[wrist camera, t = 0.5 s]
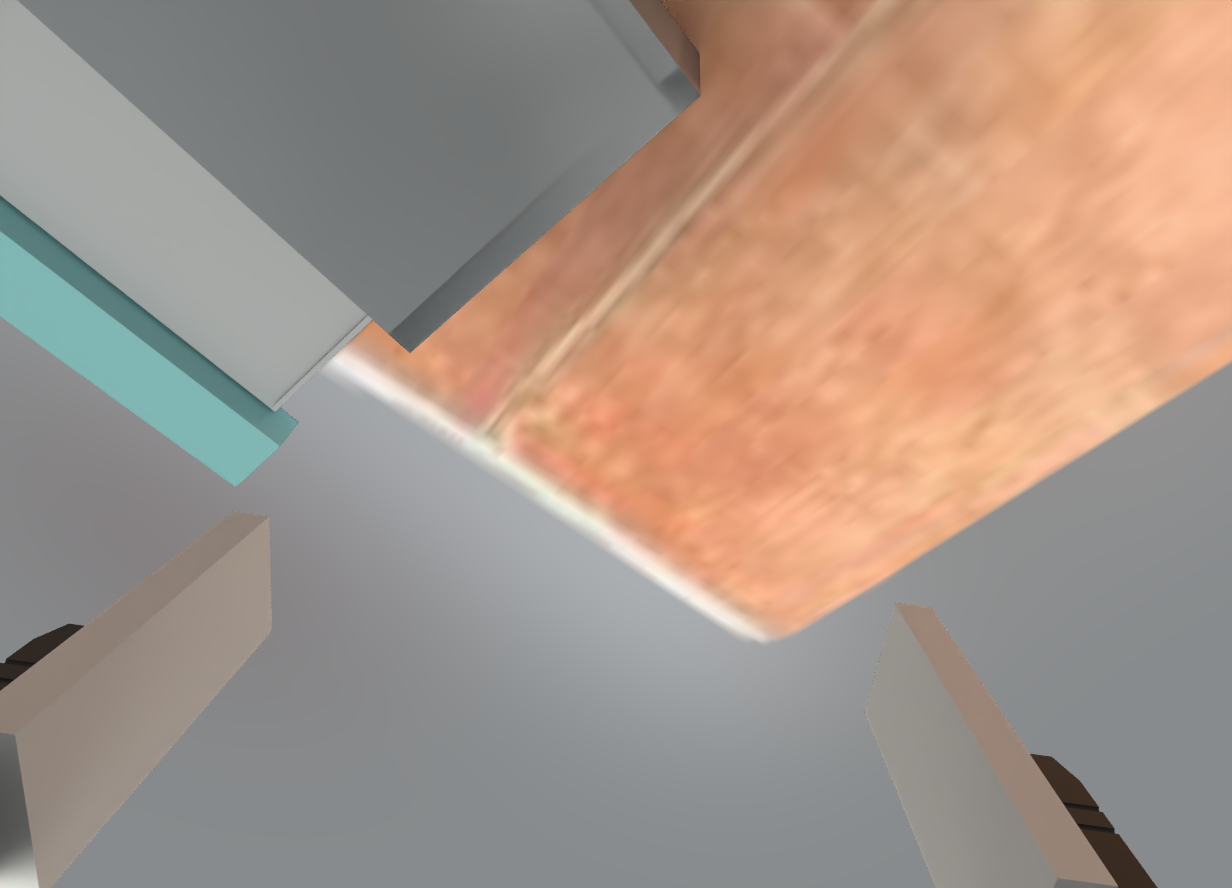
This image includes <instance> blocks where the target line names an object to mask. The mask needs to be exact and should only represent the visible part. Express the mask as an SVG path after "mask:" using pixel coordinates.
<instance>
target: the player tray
mask: <svg viewBox="0 0 1232 888" xmlns="http://www.w3.org/2000/svg"><path fill="white" fill-rule="evenodd" d="M0 316H1V317H2V318H3V319H5V320H6V321H8V322H9V323H10V324H12V325H13V326H14V327H16V328H17V329H19V330H20V331H21V332H23V333H24V334H26V335H27V336H28V337H30V338H31V339H33V340H34V341H35V342H37V343H38V344H39V345H41V346H42V347H43V348H45V349H46V350H48V351H49V352H50V353H52V354H53V355H55V356H56V357H57V358H59V359H60V360H61V361H63V362H64V363H66V364H67V365H68V366H70V367H71V368H73V369H74V370H75V371H77V372H78V373H79V374H81V375H82V376H84V377H85V378H86V379H88V380H89V381H90V382H92V383H93V384H94V385H96V386H97V387H99V388H100V389H101V390H103V391H104V392H106V393H107V394H108V395H110V396H111V397H112V398H114V399H115V400H117V401H118V402H119V403H121V404H122V405H124V406H125V407H126V408H128V409H129V410H131V411H132V412H133V413H135V414H136V415H137V416H139V417H140V418H141V419H143V420H144V421H146V422H147V423H148V424H150V425H151V426H152V427H154V428H155V429H157V430H158V431H159V432H161V433H162V434H164V435H165V436H166V437H168V438H169V439H171V440H172V441H173V442H175V443H176V444H177V445H179V446H180V447H182V448H183V449H184V450H186V451H187V452H189V453H190V454H191V455H192V456H194V457H195V458H197V459H198V460H200V461H201V462H202V463H204V464H205V465H206V466H208V467H209V468H210V469H212V470H213V471H215V472H216V473H217V474H219V475H220V476H222V477H223V478H224V479H226V480H227V481H228V482H230V483H231V484H233V485H234V486H237V485H238V484H239V483H240V482H241V481H242V480H244V479H245V478H246V477H247V476H248V475H249V474H250V473H251V472H252V471H253V470H254V469H256V468H257V467H258V466H259V465H260V464H261V463H262V462H263V461H264V460H266V458H268V457H269V456H270V455H271V454H272V453H273V452H274V451H275V450H277V449H278V448H279V447H280V446H281V444H282V443H283V442H284V440H285V439H286V438H287V436H288V435H289V434H290V433H291V431H292V430H293V429H294V427H295V426H296V425H297V424H298V421H297V420H296V419H294V418H293V417H292V416H290V415H289V414H288V413H287V412H285V411H284V410H283V409H282V408H280V406H282V405H283V404H284V403H285V402H286V401H287V400H288V399H289V398H290V397H291V396H292V395H293V394H294V393H296V391H298V390H299V389H300V388H301V387H302V386H303V385H304V384H305V383H306V382H307V381H308V380H309V379H310V378H311V377H312V376H313V375H314V374H316V373H317V372H318V371H319V370H320V369H321V368H322V367H323V366H324V365H325V364H326V363H327V362H328V361H329V360H330V359H331V358H332V357H333V356H334V355H336V354H337V353H338V352H339V351H340V350H341V349H342V348H343V347H344V346H345V345H346V344H347V343H348V342H349V341H350V340H351V339H352V338H353V337H354V336H355V335H357V334H358V333H359V332H360V331H361V330H362V329H363V328H364V327H365V326H366V325H367V324H368V323H369V322H370V321H371V320H372V319H371V318H370V317H369V316H368V315H367V314H366V313H365V312H364V311H363V310H361V309H360V308H359V307H358V306H357V305H356V304H355V303H354V302H352V301H351V300H350V299H349V298H348V297H347V296H346V295H345V294H344V293H342V292H341V291H340V290H339V289H338V288H337V287H336V286H335V285H334V284H332V283H331V282H330V281H329V280H328V279H327V278H326V277H325V276H324V275H322V274H321V273H320V272H319V271H318V270H317V269H316V268H315V267H314V266H312V265H311V264H310V263H309V262H308V261H307V260H306V259H305V258H304V257H302V256H301V255H300V254H299V253H298V252H297V251H296V250H295V249H294V248H292V247H291V246H290V245H289V244H288V243H287V242H286V241H285V240H284V239H282V238H281V237H280V236H279V235H278V234H277V233H276V232H275V231H273V230H272V229H271V228H270V227H269V226H268V225H267V224H266V223H265V222H263V221H262V220H261V219H260V218H259V217H258V216H257V215H256V214H255V213H253V212H252V211H251V210H250V209H249V208H248V207H247V206H246V205H245V204H243V203H242V202H241V201H240V200H239V199H238V198H237V197H236V196H235V195H233V194H232V193H231V192H230V191H229V190H228V189H227V188H226V187H225V186H223V185H222V184H221V183H220V182H219V181H218V180H217V179H216V178H215V177H213V176H212V175H211V174H210V173H209V172H208V171H207V170H206V169H205V168H203V167H202V166H201V165H200V164H199V163H198V162H197V161H196V160H194V159H193V158H192V157H191V156H190V155H189V154H188V153H187V152H186V151H184V150H183V149H182V148H181V147H180V146H179V145H178V144H177V143H176V142H174V141H173V140H172V139H171V138H170V137H169V136H168V135H167V134H166V133H164V132H163V131H162V130H161V129H160V128H159V127H158V126H157V125H156V124H154V123H153V122H152V121H151V120H150V119H149V118H148V117H147V116H146V115H144V114H143V113H142V112H141V111H140V110H139V109H138V108H137V107H136V106H134V105H133V104H132V103H131V102H130V101H129V100H128V99H127V98H126V97H124V96H123V95H122V94H121V93H120V92H119V91H118V90H117V89H115V88H114V87H113V86H112V85H111V84H110V83H109V82H108V81H107V80H105V79H104V78H103V77H102V76H101V75H100V74H99V73H98V72H97V71H95V70H94V69H93V68H92V67H91V66H90V65H89V64H88V63H87V62H85V61H84V60H83V59H82V58H81V57H80V56H79V55H78V54H77V53H75V52H74V51H73V50H72V49H71V48H70V47H69V46H68V45H67V44H65V43H64V42H63V41H62V40H61V39H60V38H59V37H58V36H57V35H55V34H54V33H53V32H52V31H51V30H50V29H49V28H48V27H47V26H45V25H44V24H43V23H42V22H41V21H40V20H39V19H38V18H36V17H35V16H34V15H33V14H32V13H31V12H30V11H29V10H28V9H26V8H25V7H24V6H23V5H22V4H21V3H20V2H19V1H18V0H0Z"/></svg>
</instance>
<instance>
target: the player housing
mask: <svg viewBox="0 0 1232 888" xmlns="http://www.w3.org/2000/svg"><path fill="white" fill-rule="evenodd" d="M18 1H19V2H20V3H21V4H22V5H23V6H24V7H25V8H26V9H28V10H29V11H30V12H31V13H32V14H33V15H34V16H35V17H36V18H38V19H39V20H40V21H41V22H42V23H43V24H44V25H45V26H47V27H48V28H49V29H50V30H51V31H52V32H53V33H54V34H55V35H57V36H58V37H59V38H60V39H61V40H62V41H63V42H64V43H65V44H67V45H68V46H69V47H70V48H71V49H72V50H73V51H74V52H75V53H77V54H78V55H79V56H80V57H81V58H82V59H83V60H84V61H85V62H87V63H88V64H89V65H90V66H91V67H92V68H93V69H94V70H95V71H97V72H98V73H99V74H100V75H101V76H102V77H103V78H104V79H105V80H107V81H108V82H109V83H110V84H111V85H112V86H113V87H114V88H115V89H117V90H118V91H119V92H120V93H121V94H122V95H123V96H124V97H126V98H127V99H128V100H129V101H130V102H131V103H132V104H133V105H134V106H136V107H137V108H138V109H139V110H140V111H141V112H142V113H143V114H144V115H146V116H147V117H148V118H149V119H150V120H151V121H152V122H153V123H154V124H156V125H157V126H158V127H159V128H160V129H161V130H162V131H163V132H164V133H166V134H167V135H168V136H169V137H170V138H171V139H172V140H173V141H174V142H176V143H177V144H178V145H179V146H180V147H181V148H182V149H183V150H184V151H186V152H187V153H188V154H189V155H190V156H191V157H192V158H193V159H194V160H196V161H197V162H198V163H199V164H200V165H201V166H202V167H203V168H205V169H206V170H207V171H208V172H209V173H210V174H211V175H212V176H213V177H215V178H216V179H217V180H218V181H219V182H220V183H221V184H222V185H223V186H225V187H226V188H227V189H228V190H229V191H230V192H231V193H232V194H233V195H235V196H236V197H237V198H238V199H239V200H240V201H241V202H242V203H243V204H245V205H246V206H247V207H248V208H249V209H250V210H251V211H252V212H253V213H255V214H256V215H257V216H258V217H259V218H260V219H261V220H262V221H263V222H265V223H266V224H267V225H268V226H269V227H270V228H271V229H272V230H273V231H275V232H276V233H277V234H278V235H279V236H280V237H281V238H282V239H284V240H285V241H286V242H287V243H288V244H289V245H290V246H291V247H292V248H294V249H295V250H296V251H297V252H298V253H299V254H300V255H301V256H302V257H304V258H305V259H306V260H307V261H308V262H309V263H310V264H311V265H312V266H314V267H315V268H316V269H317V270H318V271H319V272H320V273H321V274H322V275H324V276H325V277H326V278H327V279H328V280H329V281H330V282H331V283H332V284H334V285H335V286H336V287H337V288H338V289H339V290H340V291H341V292H342V293H344V294H345V295H346V296H347V297H348V298H349V299H350V300H351V301H352V302H354V303H355V304H356V305H357V306H358V307H359V308H360V309H361V310H363V311H364V312H365V313H366V314H367V315H368V316H369V317H370V318H371V319H373V320H374V321H375V322H376V323H377V324H378V325H379V326H380V327H381V328H383V329H384V330H385V331H386V332H387V333H388V334H389V335H390V336H391V337H393V338H394V339H395V340H396V341H397V342H398V343H399V344H400V345H401V346H403V347H404V348H405V349H406V350H407V351H408V352H409V353H411V352H412V351H413V350H414V349H415V348H416V347H417V346H418V345H420V344H421V343H422V342H423V341H424V340H425V339H426V338H428V337H429V336H430V335H431V334H432V333H433V332H434V331H435V330H437V329H438V328H439V327H440V326H441V325H442V324H443V323H444V322H446V321H447V320H448V319H449V318H450V317H451V316H452V315H453V314H455V313H456V312H457V311H458V310H459V309H460V308H461V307H462V306H464V305H465V304H466V303H467V302H468V301H469V300H470V299H471V298H473V297H474V296H475V295H476V294H477V293H478V292H479V291H481V290H482V289H483V288H484V287H485V286H486V285H487V284H488V283H490V282H491V281H492V280H493V279H494V278H495V277H496V276H497V275H499V274H500V273H501V272H502V271H503V270H504V269H505V268H506V267H508V266H509V265H510V264H511V263H512V262H513V261H514V260H515V259H517V258H518V257H519V256H520V255H521V254H522V253H523V252H525V251H526V250H527V249H528V248H529V247H530V246H531V245H532V244H534V243H535V242H536V241H537V240H538V239H539V238H540V237H541V236H543V235H544V234H545V233H546V232H547V231H548V230H549V229H550V228H552V227H553V226H554V225H555V224H556V223H557V222H558V221H559V220H561V219H562V218H563V217H564V216H565V215H566V214H567V213H568V212H570V211H571V210H572V209H573V208H574V207H575V206H576V205H578V204H579V203H580V202H581V201H582V200H583V199H584V198H585V197H587V196H588V195H589V194H590V193H591V192H592V191H593V190H594V189H596V188H597V187H598V186H599V185H600V184H601V183H602V182H603V181H605V180H606V179H607V178H608V177H609V176H610V175H611V174H612V173H614V172H615V171H616V170H617V169H618V168H619V167H620V166H621V165H623V164H624V163H625V162H626V161H627V160H628V159H629V158H631V157H632V156H633V155H634V154H635V153H636V152H637V151H638V150H640V149H641V148H642V147H643V146H644V145H645V144H646V143H647V142H649V141H650V140H651V139H652V138H653V137H654V136H655V135H656V134H658V133H659V132H660V131H661V130H662V129H663V128H664V127H665V126H667V125H668V124H669V123H670V122H671V121H672V120H673V119H675V118H676V117H677V116H678V115H679V114H680V113H681V112H682V111H684V110H685V109H686V108H687V107H688V106H689V105H690V104H691V103H693V102H694V101H695V100H696V99H697V98H698V97H699V96H700V59H699V53H698V51H697V50H696V49H695V47H694V46H693V44H692V43H691V42H690V40H689V39H688V38H687V36H686V35H685V34H684V32H683V31H682V29H681V28H680V27H679V25H678V24H677V23H676V21H675V20H674V19H673V17H672V16H671V14H670V13H669V12H668V10H667V9H666V8H665V6H664V5H663V4H662V2H661V1H660V0H18Z"/></svg>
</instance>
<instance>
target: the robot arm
mask: <svg viewBox="0 0 1232 888" xmlns="http://www.w3.org/2000/svg"><path fill="white" fill-rule="evenodd" d="M270 574H271V573H270V525H269V517H268V516H261V515H253V514H246V513H239V512H232V513H230V514H229V515H228V516H227V517H225V518H224V519H223V520H221V521H220V522H219V523H218V524H216V525H215V526H214V527H213V528H211V529H210V530H208V531H207V532H206V533H205V534H203V535H202V536H201V537H199V538H198V539H197V540H195V541H194V542H193V543H192V544H190V545H189V546H188V547H186V548H185V549H184V550H182V551H181V552H180V553H179V554H177V555H176V556H175V557H173V558H172V559H171V560H169V561H168V562H167V563H166V564H164V565H163V566H162V567H160V568H159V569H158V570H157V571H155V572H154V573H153V574H151V575H150V576H149V577H147V578H146V579H145V580H144V581H142V582H141V583H140V584H138V585H137V586H136V587H134V588H133V589H132V590H131V591H129V592H128V593H127V594H125V595H124V596H123V597H122V598H120V599H119V600H118V601H116V602H115V603H114V604H113V605H111V606H110V607H109V608H107V609H106V610H105V611H103V612H102V613H101V614H99V615H98V616H97V617H96V618H94V619H93V620H92V621H90V622H89V623H88V624H87V625H85V626H81V625H74V624H67V625H65V626H63V627H60V628H58V629H56V630H53V631H51V632H49V633H47V634H44V635H42V636H40V637H37V638H35V639H33V640H32V641H30V642H29V643H28V644H26V645H25V646H24V647H22V648H21V649H19V650H18V651H16V652H15V653H14V654H12V655H11V656H10V657H8V658H7V659H6V662H5V663H0V888H51V887H52V885H53V884H54V883H55V882H56V881H57V880H58V879H59V877H60V876H61V875H62V874H63V873H64V872H65V870H66V869H67V868H68V867H69V866H70V865H71V863H72V862H73V861H74V860H75V859H76V858H77V856H78V855H79V854H80V853H81V852H82V851H83V849H84V848H85V847H86V846H87V845H88V844H89V843H90V841H91V840H92V839H93V838H94V837H95V835H96V834H97V833H98V832H99V831H100V830H101V829H102V827H103V826H104V825H105V824H106V823H107V822H108V820H109V819H110V818H111V817H112V816H113V815H114V813H115V812H116V811H117V810H118V809H119V808H120V806H121V805H122V804H123V803H124V802H125V801H126V799H127V798H128V797H129V796H130V795H131V794H132V792H133V791H134V790H135V789H136V788H137V787H138V786H139V784H140V783H141V782H142V781H143V780H144V779H145V777H146V776H147V775H148V774H149V773H150V772H151V770H152V769H153V768H154V767H155V766H156V765H157V763H158V762H159V761H160V760H161V759H162V758H163V756H164V755H165V754H166V753H167V752H168V751H169V749H170V748H171V747H172V746H173V745H174V743H175V742H176V741H177V740H178V739H179V738H180V737H181V735H182V734H183V733H184V732H185V731H186V730H187V729H188V727H189V726H190V725H191V724H192V723H193V722H194V720H195V719H196V718H197V717H198V716H199V715H200V713H201V712H202V711H203V710H204V709H205V708H206V706H207V705H208V704H209V703H210V702H211V701H212V699H213V698H214V697H215V696H216V695H217V694H218V692H219V691H220V690H221V689H222V688H223V687H224V685H225V684H226V683H227V682H228V681H229V680H230V678H231V677H232V676H233V675H234V674H235V673H236V672H237V670H238V669H239V668H240V667H241V666H242V665H243V663H244V662H245V661H246V660H247V659H248V657H249V656H250V655H251V654H252V653H253V652H254V650H255V649H256V648H257V647H258V646H259V645H260V644H261V642H262V641H263V640H264V639H265V638H266V637H267V635H268V634H269V633H270V632H271V631H272V622H271V575H270ZM864 713H865V716H866V718H867V721H868V723H869V726H870V728H871V730H872V733H873V735H874V738H875V740H876V743H877V745H878V747H879V750H880V752H881V755H882V757H883V760H884V762H885V765H886V767H887V770H888V772H889V775H890V777H891V779H892V782H893V784H894V787H895V789H896V792H897V794H898V797H899V799H900V802H901V804H902V807H903V809H904V811H905V814H906V816H907V819H908V821H909V824H910V826H911V829H912V831H913V834H914V836H915V838H916V841H917V843H918V846H919V848H920V851H921V853H922V856H923V858H924V861H925V863H926V865H927V868H928V870H929V873H930V875H931V878H932V880H933V882H934V885H935V887H936V888H1157V887H1156V885H1155V884H1154V882H1153V881H1152V880H1151V878H1150V877H1149V876H1148V874H1147V873H1146V871H1145V870H1144V869H1143V867H1142V866H1141V864H1140V863H1139V862H1138V860H1137V859H1136V858H1135V856H1134V855H1133V854H1132V852H1131V851H1130V849H1129V848H1128V847H1127V845H1126V844H1125V842H1124V841H1123V840H1122V838H1121V837H1120V835H1119V834H1115V832H1114V827H1113V826H1112V825H1111V823H1110V822H1109V821H1108V819H1107V818H1106V816H1105V815H1104V813H1103V812H1099V807H1098V805H1097V804H1096V802H1095V801H1094V800H1093V798H1092V797H1091V796H1090V794H1089V793H1088V792H1087V790H1086V789H1085V787H1084V786H1083V784H1082V783H1081V782H1080V781H1079V780H1078V779H1077V778H1076V777H1075V776H1074V775H1072V774H1071V773H1070V772H1069V771H1068V770H1066V769H1065V768H1064V767H1063V766H1062V765H1061V764H1059V763H1058V762H1057V761H1056V760H1055V759H1054V758H1052V757H1049V756H1042V755H1035V754H1029V752H1028V751H1027V749H1026V748H1025V746H1024V745H1023V743H1022V742H1021V741H1020V739H1019V737H1018V736H1017V734H1016V733H1015V732H1014V730H1013V728H1012V727H1011V725H1010V724H1009V722H1008V721H1007V719H1006V718H1005V716H1004V715H1003V714H1002V712H1001V711H1000V709H999V707H998V706H997V705H996V703H995V702H994V700H993V699H992V697H991V696H990V694H989V693H988V691H987V690H986V688H985V687H984V685H983V684H982V682H981V681H980V679H979V678H978V676H977V675H976V673H975V672H974V671H973V669H972V667H971V666H970V664H969V663H968V661H967V660H966V658H965V657H964V655H963V654H962V652H961V651H960V649H959V648H958V646H957V645H956V643H955V642H954V640H953V639H952V637H951V636H950V634H949V633H948V631H947V630H946V628H945V627H944V625H943V624H942V622H941V621H940V620H939V618H938V617H937V615H936V614H935V612H934V611H933V609H932V608H930V607H922V606H915V605H907V604H901V603H895V605H894V608H893V612H892V615H891V619H890V622H889V626H888V630H887V633H886V637H885V640H884V643H883V647H882V651H881V654H880V658H879V661H878V665H877V668H876V672H875V675H874V679H873V682H872V686H871V690H870V693H869V696H868V700H867V704H866V707H865V710H864Z"/></svg>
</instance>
